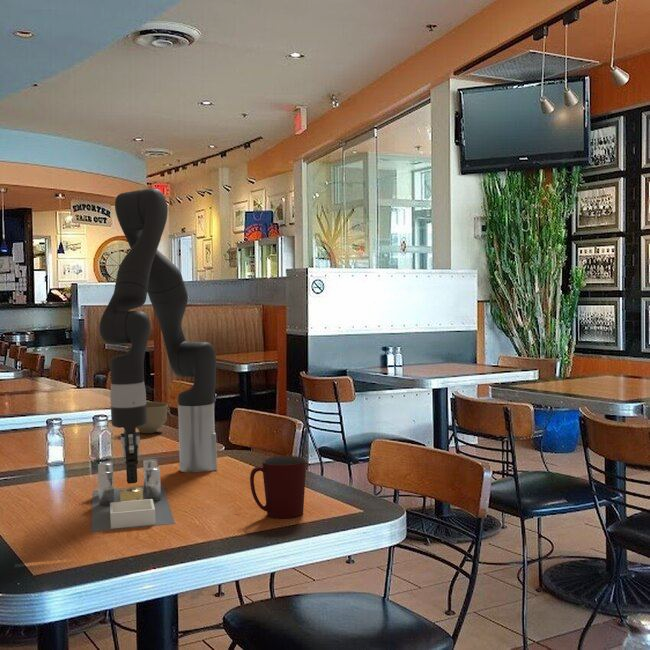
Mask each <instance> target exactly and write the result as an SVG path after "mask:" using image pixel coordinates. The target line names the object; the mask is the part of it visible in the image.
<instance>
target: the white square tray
mask: <svg viewBox="0 0 650 650" xmlns="http://www.w3.org/2000/svg"><path fill="white" fill-rule="evenodd" d="M110 519H111V529H112V528H123V527H134V526H144V525H155V507H154V503H153V499H146V500H134V501H122V502H111V503H110Z"/></svg>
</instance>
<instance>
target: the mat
mask: <svg viewBox="0 0 650 650" xmlns="http://www.w3.org/2000/svg"><path fill="white" fill-rule="evenodd" d="M138 487H139V488H142V489H143V500H146V492H144V485H143V486H138ZM124 488H125V487H121V488H114V502H120V490H121V489H124ZM153 503H154V507H155V525H144V526H134V527H123V528H112V529H111V519H110V506H99V493H98V489H96V490H92V503H91V516H90V517H91V520H90V532H91V533H93V532H103V531H104V532H105V531H114V530H126V529H135V528H144V527H147V528H148V527H157V526H167V525H169V526H170V525H175V524H176V522H175V519H174V516H173V513H172V510H171V506H170V503H169V500H168V497H167V493H166V490H165V487H164V484H161V500H160V501H158V502H153Z"/></svg>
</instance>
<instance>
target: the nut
mask: <svg viewBox="0 0 650 650" xmlns="http://www.w3.org/2000/svg"><path fill="white" fill-rule="evenodd" d="M139 487H140V486H133V487H131V486H130V487H123V488H124V489H121V490H120V502H122V501H134V500H143V489H142V488H139Z"/></svg>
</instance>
